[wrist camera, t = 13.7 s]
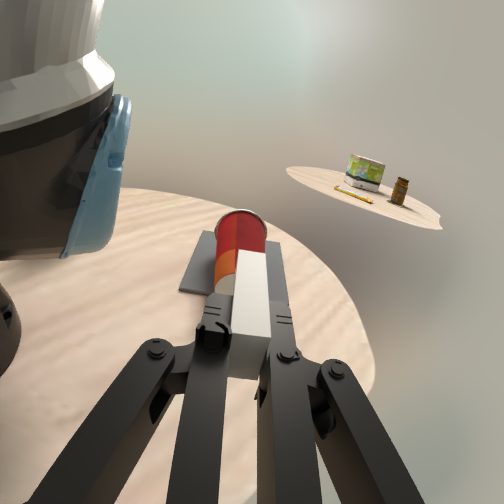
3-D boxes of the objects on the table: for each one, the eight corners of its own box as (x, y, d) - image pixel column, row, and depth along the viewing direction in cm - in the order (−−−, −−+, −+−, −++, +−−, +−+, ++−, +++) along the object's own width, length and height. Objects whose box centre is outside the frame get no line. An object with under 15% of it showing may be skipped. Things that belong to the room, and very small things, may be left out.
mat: (288, 306, 35) (289, 304, 35) (179, 289, 34) (179, 287, 34) (279, 244, 51) (279, 242, 51) (203, 232, 50) (203, 230, 50)
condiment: (403, 205, 113) (411, 181, 107) (401, 207, 107) (409, 181, 101) (389, 199, 116) (397, 175, 111) (386, 201, 110) (394, 175, 105)
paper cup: (276, 311, 33) (269, 246, 45) (269, 261, 29) (263, 202, 40) (212, 317, 34) (220, 252, 45) (195, 269, 30) (210, 210, 41)
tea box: (351, 186, 121) (359, 156, 114) (343, 181, 130) (350, 152, 123) (377, 193, 123) (386, 164, 116) (368, 187, 132) (376, 160, 125)
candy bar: (332, 189, 107) (333, 185, 106) (336, 189, 110) (337, 184, 109) (370, 205, 98) (371, 200, 97) (373, 204, 101) (374, 199, 100)
